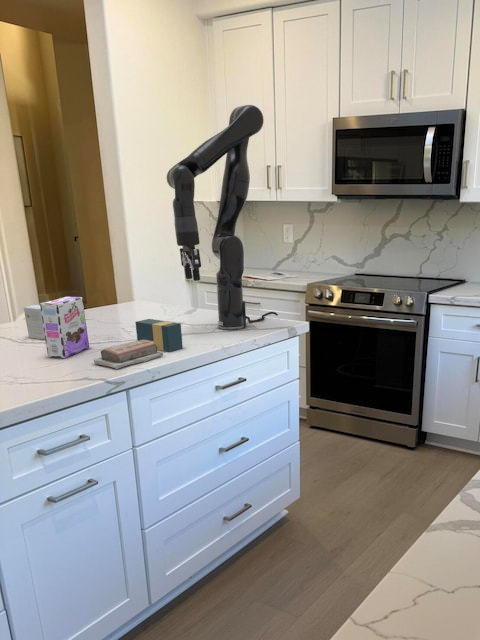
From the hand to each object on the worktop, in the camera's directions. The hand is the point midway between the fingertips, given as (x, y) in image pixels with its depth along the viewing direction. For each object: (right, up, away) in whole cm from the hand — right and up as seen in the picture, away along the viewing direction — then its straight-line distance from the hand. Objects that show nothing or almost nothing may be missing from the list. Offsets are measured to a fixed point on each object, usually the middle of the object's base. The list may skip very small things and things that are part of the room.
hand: (192, 279), depth 210 cm
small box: (-51, -20, -2) cm, 55 cm away
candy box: (-34, -28, -21) cm, 49 cm away
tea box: (-8, -22, -15) cm, 27 cm away
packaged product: (-13, -32, -29) cm, 45 cm away
